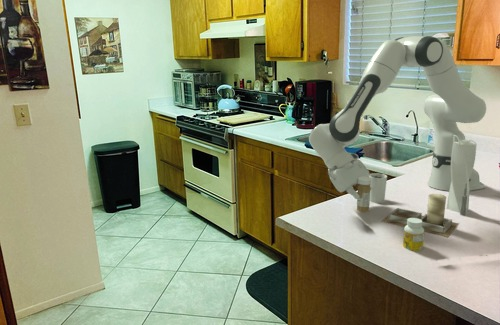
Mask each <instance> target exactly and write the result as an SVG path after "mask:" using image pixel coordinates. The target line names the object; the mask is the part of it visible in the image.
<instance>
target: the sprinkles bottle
mask: <svg viewBox="0 0 500 325" xmlns="http://www.w3.org/2000/svg"><path fill="white" fill-rule="evenodd" d="M370 185H371V178H369V177H359V178H358V184H357V192H359V194H360V195H361V196H360V197H359V198H358V199H356V210H357V211H358V212H361V213H366V212H369V211H370V202H371V201H370Z"/></svg>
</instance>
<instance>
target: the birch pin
mask: <svg viewBox="0 0 500 325" xmlns="http://www.w3.org/2000/svg"><path fill="white" fill-rule="evenodd" d="M446 201H447V196H445V195H444V194H441V193H430V194H429V195H428V201H427V211H426V214H427V220H426V223H429V224H433V225H438V226H442V227H443V223H444V218H445V212H446V205H447V202H446Z"/></svg>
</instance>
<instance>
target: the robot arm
mask: <svg viewBox="0 0 500 325" xmlns="http://www.w3.org/2000/svg"><path fill="white" fill-rule="evenodd" d="M402 67H405V68H406V67H408V68H415V67H416V68H417V67H418V68H420V67H422V70H423V73H424V76H425V78H426V81H427V83H428V85H429V89H430V90H431V91H432V93H434V94H430V95H429V96H428V97H426V99H425V101H424V104H423V110H424V113H425V114H426V116H427V117H428V118H429V119H430V121H431V123H432V126H433V129H434V137H435V140H434V152H433V153H432V167H431V172H430V176H429V178H428V181H427V186H428V187H431V188H433V189H435V190H441V191H445V192H447V191H448V192H449V190H450V185H451V181H452V179H451V155H452V147H453V136H454V135H456V136H458V138H459V139H460V140H466V135H465V134H464V133H463V132H462V131H461V130H460V129H459V127H458V125H457V123H460V124H472V123H473V124H475V123H478V122H480V121H481V120H483V118H484V117H485V115H486V113H487V104H486V102H485V100H484V99H482V98H481V97H479V96H478V95H476V94H475V93H474V92H473V91H471V90H470V89H469V87H468V86H467V85H466V84H465V83H464V81H463V80H462V78H461V76H460V73H459V72H458V69H457V65H456V62H455V60H454V57H453V54H452V53H451V51H450V49H449V47H448V45H447V44H446V42H445V41H444V40H442V39H438V38H437V37H434V36H431V35H430V36H429V35H426V36H425V35H412V36H407V37H404V36H403V37H399V38H396V39H387V40H385V41H384V42H382V44H381V45H380V46H379V47H378V48H377V49H376V50H375V52H374V54H373V55H372V57H371V58H370V60H369V61H368V63H367V64H366V66H365V69H364V71H363V73H362V76H361V78H360V81H359V83H358V85H357V87H356V89H355V90H354V92H353V94H352V96H351V97H350V99H349V100H348V101H347V103H346V105H345V106H344V108H342V110H340V111H338V112H337V113H336V114H335V115H333V117H332V118H331V120H330V121H329V123H320V124H319V123H318V125H316V126H315V127H314V128H313V129H312V130H311V132H310V133H309V135H308V141H309V144H310V145H311V147H312V148H313V150H314V151H315V153H316V154H317V155H318V156H319V158H321V159H322V160H323V162H324V164H325V166H326V167H327V169H328V170H327V174H328V177H329V179H330V182H331V183H332V184H333V186H334V187H335V189H336V190H337V191H338V192H339V193H343V192H346V193H348V194H349V195H350V196H352V197H353V198H354V199H355V200H357V199H358V198H359V197H360V196H361V195H360V194H359V192H358V191H356V190H355V189H354V186H356V185H358V178H359V177H369V176H370V174H371V173H370V171H369V169H368V168H367V166H366V165H365V164H364V163H363V162H362V160H360V159H359V155H358V154H357V153H353V152H347V150H346V149H345V148H346V147H348V146H350V145H353V144H355V143H356V142H357V140H358V139H359V137H360V135H361V134H360V133H361V131H360V123H361V117H362V116H363V114H364V113H365V111H366V110H367V108H368V106H369V104H370V103H371V101H372V100H373V98H375V96H376V95H379V94H382V93H385V92H386V91H387V90H388V88H389V87H390V86H391V85H392V83H393V82H394V80H395V79H396V77H397V75H398V74H399V72H400V70H401V68H402ZM458 138H457V137H455V142H459V141H458ZM480 181H481V180H480V174H479V172H478V170H476V169H475V168H473V171H472V174H471V176H470V179H469V192H470V191H477V190H478V191H479V190H483V189H486V185H485V184H484V183H482V182H480ZM370 190H372V187H371V186H370Z"/></svg>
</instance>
